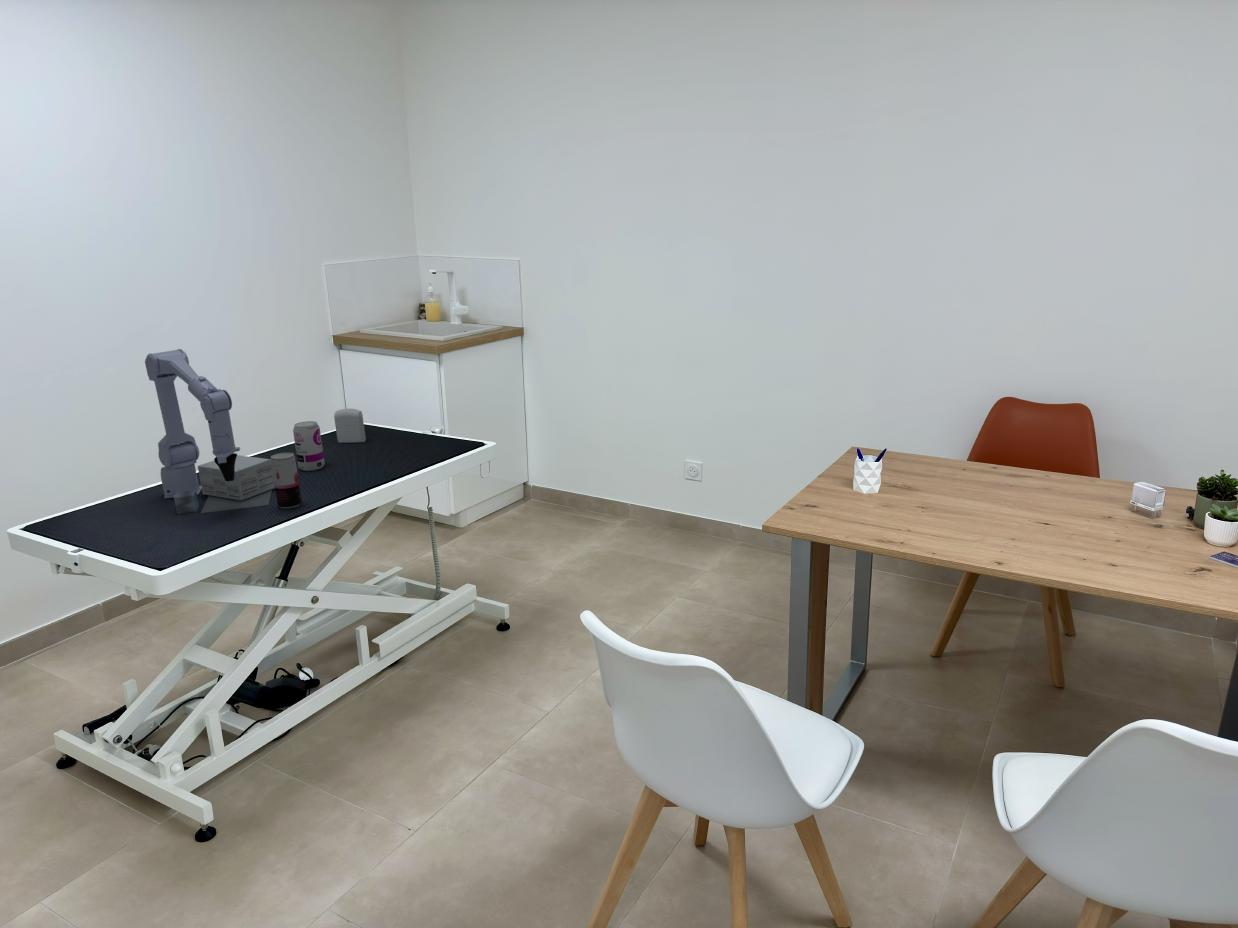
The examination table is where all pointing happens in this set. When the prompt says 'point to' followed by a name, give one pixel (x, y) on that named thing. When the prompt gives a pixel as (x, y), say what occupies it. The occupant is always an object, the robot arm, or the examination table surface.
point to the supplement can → (308, 446)
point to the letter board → (235, 502)
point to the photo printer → (349, 426)
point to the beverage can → (286, 480)
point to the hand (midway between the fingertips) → (229, 480)
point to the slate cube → (186, 502)
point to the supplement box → (238, 478)
